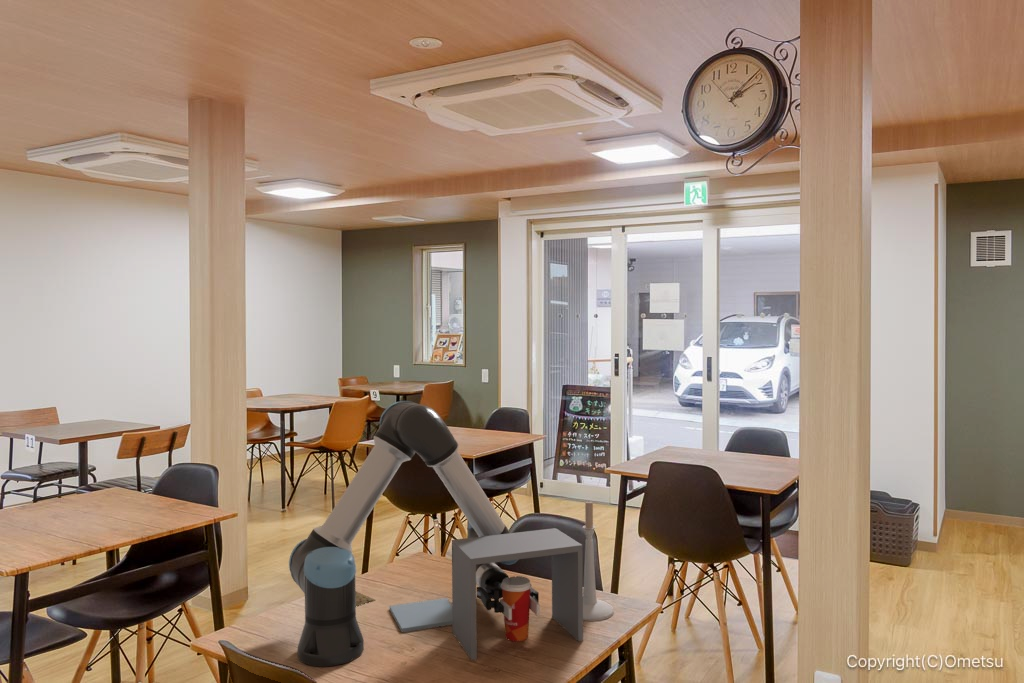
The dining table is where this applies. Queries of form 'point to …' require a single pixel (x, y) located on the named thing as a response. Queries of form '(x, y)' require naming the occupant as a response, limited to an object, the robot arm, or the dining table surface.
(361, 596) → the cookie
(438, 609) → the mat
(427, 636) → the dining table surface
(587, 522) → the candlestick
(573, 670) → the dining table surface
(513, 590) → the paper cup
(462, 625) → the shelf riser
